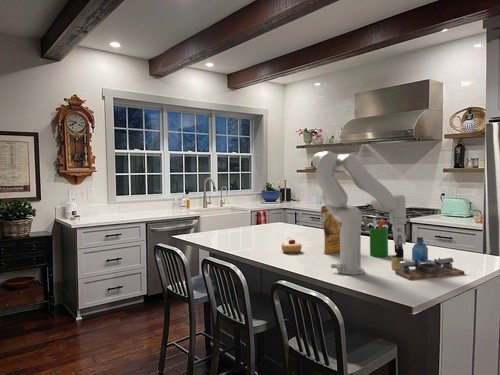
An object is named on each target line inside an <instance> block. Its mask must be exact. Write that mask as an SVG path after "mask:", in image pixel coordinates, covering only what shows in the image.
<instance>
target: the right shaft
mask: <svg viewBox="0 0 500 375" xmlns="http://www.w3.org/2000/svg"><path fill="white" fill-rule="evenodd" d="M433 260H434V261H433V262H434V263H433V264H436V265H439V266H442V267H444V268H446V269H452V267H453V263H454V259H453V258H452V257H447V258H446V257H445V258H440V257H436V258H434V259H433Z"/></svg>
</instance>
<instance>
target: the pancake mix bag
mask: <svg viewBox="0 0 500 375" xmlns="http://www.w3.org/2000/svg"><path fill="white" fill-rule="evenodd" d="M320 214H321V220H322V222H321V223H322V229H323V235H324V236H323V237H324V252H323V254H325V255H331V253H332V254H336V253H338V252H339V253H340V230H341V223H340V222H338V221H336V220H335V218H334V217H333V216H332V214H331V213H330V211H329V210H328V208H327V207H326V205H325V204H324V205H322V206H321V207H320ZM335 252H336V253H335Z"/></svg>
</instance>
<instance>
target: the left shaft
mask: <svg viewBox="0 0 500 375" xmlns="http://www.w3.org/2000/svg"><path fill="white" fill-rule="evenodd" d="M421 264H422V262H421V261H420V260H416V261H413V260H411V261H403V262H399V267H401V271H402V272H404V273H410V269H411V268H412V267H414V268H415V267H416V268H421Z"/></svg>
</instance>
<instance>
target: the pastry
mask: <svg viewBox="0 0 500 375" xmlns="http://www.w3.org/2000/svg"><path fill="white" fill-rule="evenodd" d="M288 239H289V240H288ZM285 240H288V241H286V242H282V243H281V245H280V246H281V250H282V252H283V253H284V252H285V254H289V253H295V254H299V253H300V252H301V250H302V244H301V243H300V242H297V241H296V240H295V239H292V238H291V237H287V238H286V239H285Z"/></svg>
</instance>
